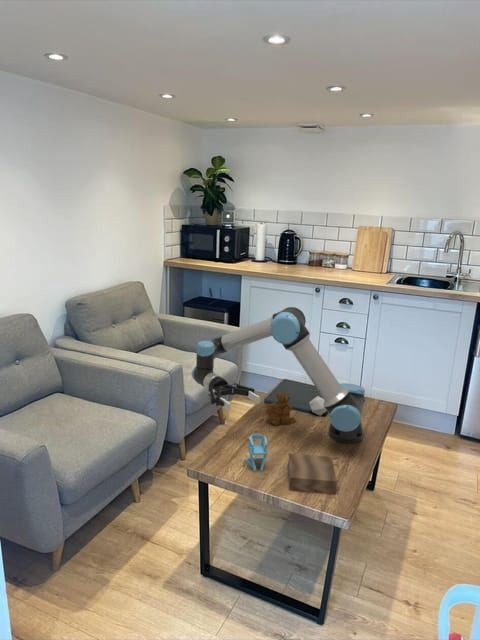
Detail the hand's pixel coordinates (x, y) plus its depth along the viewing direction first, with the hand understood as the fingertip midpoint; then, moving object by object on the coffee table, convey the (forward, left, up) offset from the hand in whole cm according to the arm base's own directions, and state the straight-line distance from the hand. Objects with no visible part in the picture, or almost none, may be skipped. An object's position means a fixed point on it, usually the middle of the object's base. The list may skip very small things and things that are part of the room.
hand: (244, 403), depth 179 cm
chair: (-6, +8, -22) cm, 24 cm away
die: (-34, -42, -22) cm, 59 cm away
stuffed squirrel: (-15, -30, -22) cm, 40 cm away
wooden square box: (-26, +14, -21) cm, 36 cm away
